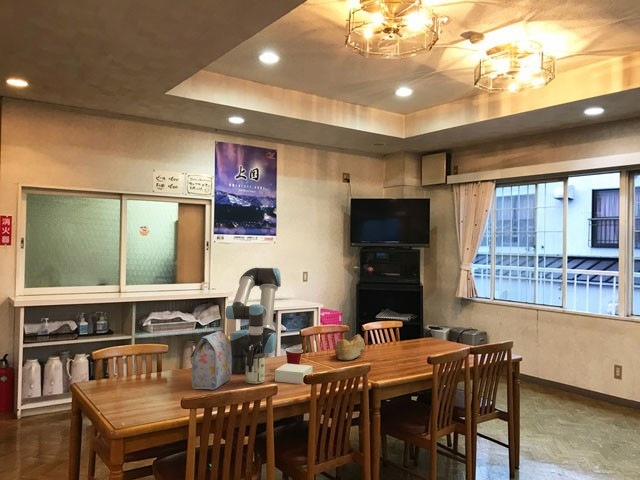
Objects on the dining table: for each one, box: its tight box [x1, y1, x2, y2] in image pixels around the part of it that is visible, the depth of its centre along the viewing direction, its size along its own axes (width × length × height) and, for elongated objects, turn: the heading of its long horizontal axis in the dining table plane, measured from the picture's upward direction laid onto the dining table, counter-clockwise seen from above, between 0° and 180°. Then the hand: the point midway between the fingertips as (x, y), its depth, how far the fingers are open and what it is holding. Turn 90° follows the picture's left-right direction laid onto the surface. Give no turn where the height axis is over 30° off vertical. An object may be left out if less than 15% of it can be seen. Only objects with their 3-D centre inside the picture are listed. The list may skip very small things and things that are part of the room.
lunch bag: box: [189, 330, 233, 391], centre depth 253 cm, size 22×17×26 cm
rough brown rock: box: [334, 333, 366, 361], centre depth 321 cm, size 23×17×15 cm
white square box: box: [274, 363, 313, 385], centre depth 266 cm, size 16×16×6 cm
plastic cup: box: [284, 347, 304, 365], centre depth 286 cm, size 11×11×12 cm
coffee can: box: [245, 353, 266, 384], centre depth 258 cm, size 10×10×14 cm
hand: (255, 375), depth 258 cm, fingers closed on coffee can, 10 cm apart
